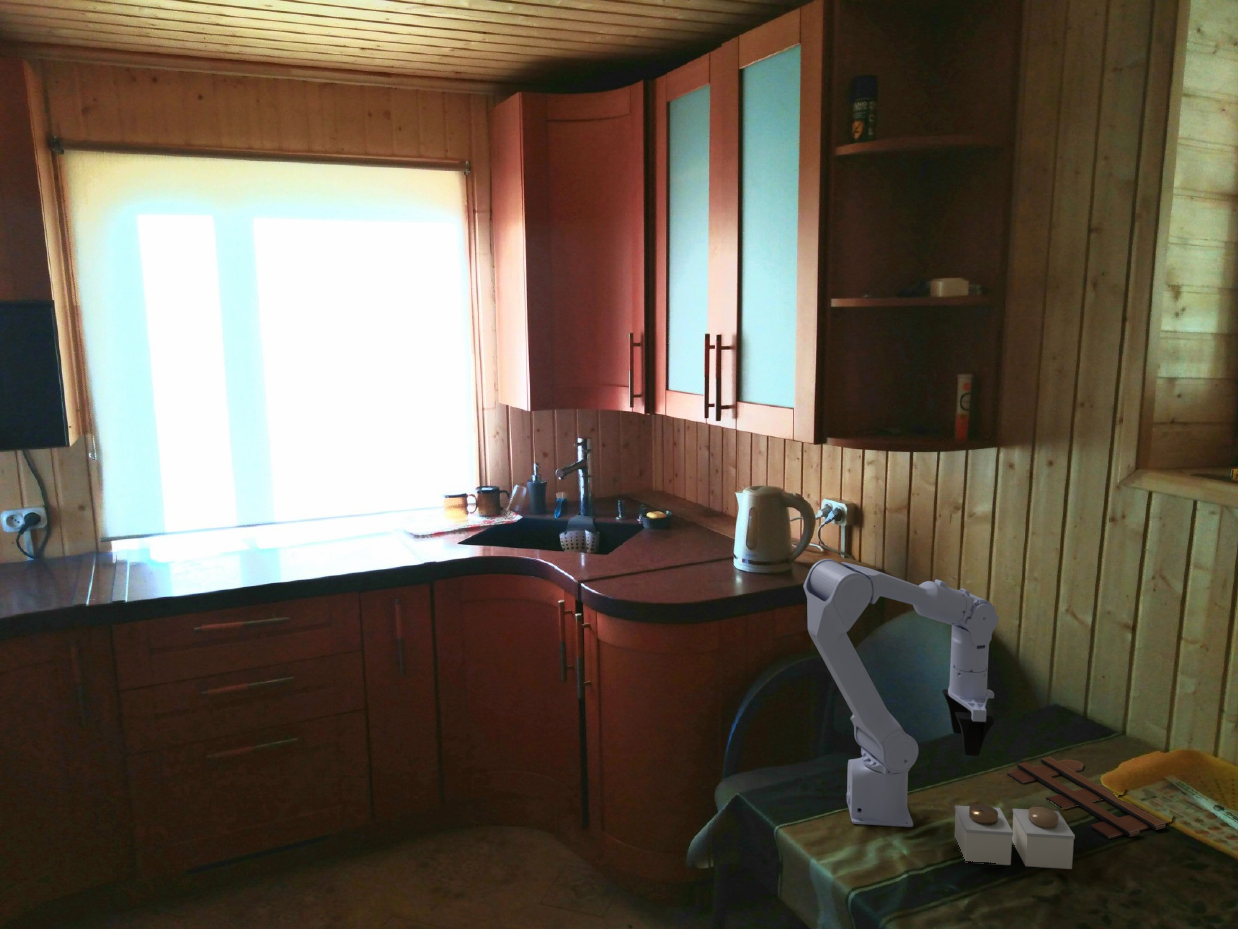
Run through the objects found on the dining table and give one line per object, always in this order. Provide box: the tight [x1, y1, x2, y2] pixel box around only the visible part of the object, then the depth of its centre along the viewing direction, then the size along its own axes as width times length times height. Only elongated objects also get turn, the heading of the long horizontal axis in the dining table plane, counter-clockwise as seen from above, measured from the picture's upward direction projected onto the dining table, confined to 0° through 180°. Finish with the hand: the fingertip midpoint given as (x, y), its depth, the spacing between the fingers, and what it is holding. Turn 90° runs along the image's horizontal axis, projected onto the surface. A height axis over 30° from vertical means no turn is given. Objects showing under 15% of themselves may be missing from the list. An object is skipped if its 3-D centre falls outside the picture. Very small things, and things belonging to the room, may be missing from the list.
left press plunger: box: [969, 803, 998, 825], centre depth 128 cm, size 4×4×6 cm
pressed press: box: [1012, 806, 1076, 870], centre depth 128 cm, size 7×8×7 cm
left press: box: [954, 805, 1013, 866], centre depth 129 cm, size 7×8×5 cm
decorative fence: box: [1006, 756, 1168, 840], centre depth 143 cm, size 23×2×15 cm
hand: (965, 743), depth 142 cm, fingers open, 7 cm apart
